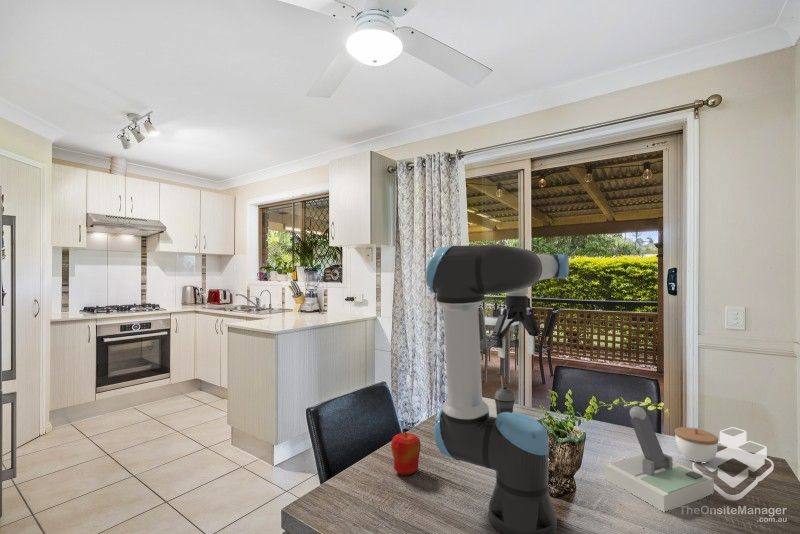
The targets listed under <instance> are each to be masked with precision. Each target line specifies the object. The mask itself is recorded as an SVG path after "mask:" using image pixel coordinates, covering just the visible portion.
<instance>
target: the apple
mask: <svg viewBox="0 0 800 534" xmlns="http://www.w3.org/2000/svg"><path fill="white" fill-rule="evenodd" d="M421 445H422V443H421V440H420V438H419V436H417V435H416V434H414V433H411V432H407V431H406V430H405V431H404V432H400V433H398V434H397V433H396V434H395V435H393V437H392V440H391V443H390V446H391V447H390V448H391V452H392V459H393V469H394V471H395V472H396V473H398V474H399V475H401V476H409V475H413V474H414V473H415V472H416V471H417V470H418V469H419V464H420V463H419V461H420V453H421Z"/></svg>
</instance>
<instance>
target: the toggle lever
mask: <svg viewBox="0 0 800 534" xmlns="http://www.w3.org/2000/svg"><path fill="white" fill-rule="evenodd" d="M629 415H630V417H631V418H629V420H630V422H631V425H632V427H633V430H634V432H635V435H636V437H637V440H638V443H639V445H640V448H641V452H642V454H644V457H645V458H646V459H648V460H650V461H652V462H654V471H655V470H659V469H662V468H665V467H667V466H668V462H667V460H666V459H665V456H664V454H665V453H664V451H663V449H662V447H661V444H660V442H659V439H658V437H657V434H656V431H655V429H654V427H653V424H652V422H651V420H650V417H649V415H647V413H646V411H645V410H644V408H642V407H641V406H638V405H635V406H632V407H631V408H630V409H629Z"/></svg>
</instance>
